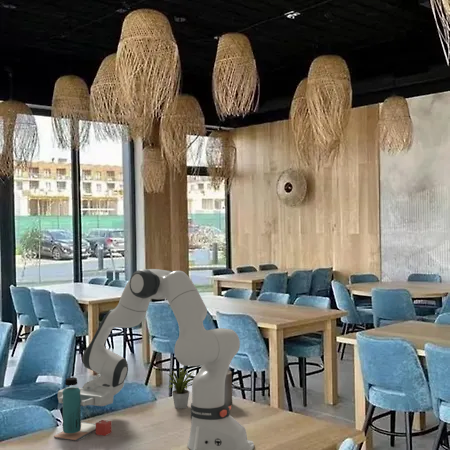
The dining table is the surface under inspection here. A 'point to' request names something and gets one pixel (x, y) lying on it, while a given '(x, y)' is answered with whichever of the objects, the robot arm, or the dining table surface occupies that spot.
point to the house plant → (180, 389)
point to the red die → (103, 427)
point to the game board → (85, 431)
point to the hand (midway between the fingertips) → (71, 402)
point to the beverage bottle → (71, 407)
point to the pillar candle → (228, 389)
